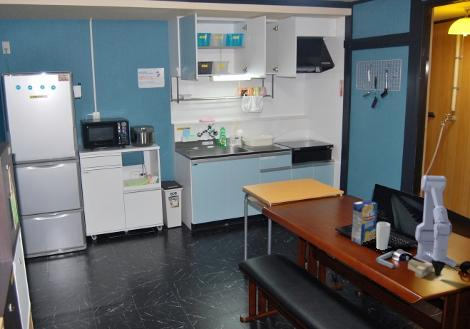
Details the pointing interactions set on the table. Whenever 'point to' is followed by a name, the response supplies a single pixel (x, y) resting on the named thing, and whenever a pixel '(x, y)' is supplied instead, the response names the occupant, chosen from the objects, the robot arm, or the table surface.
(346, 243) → the table surface
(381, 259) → the bracket
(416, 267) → the t block
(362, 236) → the beverage box
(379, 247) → the drinking glass
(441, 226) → the robot arm
